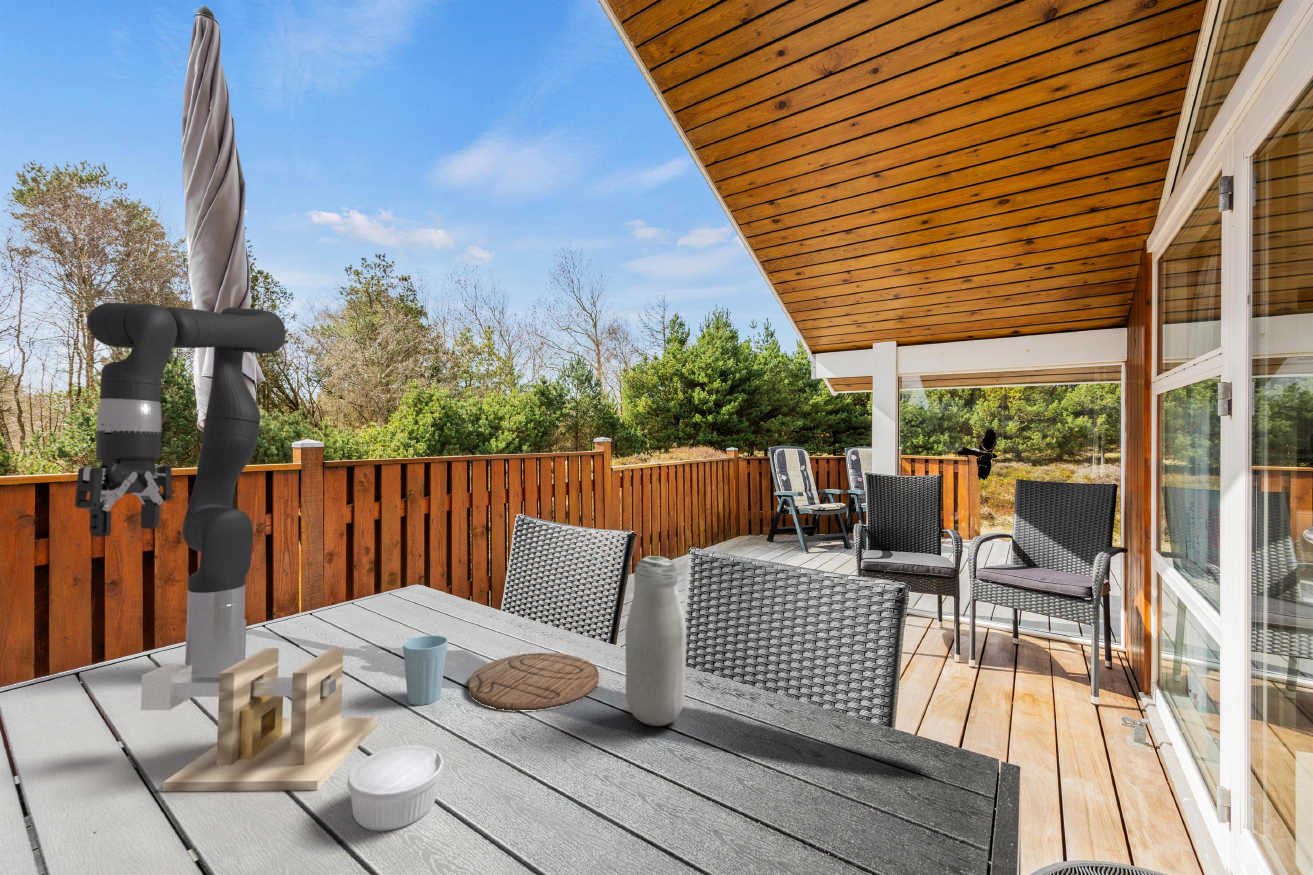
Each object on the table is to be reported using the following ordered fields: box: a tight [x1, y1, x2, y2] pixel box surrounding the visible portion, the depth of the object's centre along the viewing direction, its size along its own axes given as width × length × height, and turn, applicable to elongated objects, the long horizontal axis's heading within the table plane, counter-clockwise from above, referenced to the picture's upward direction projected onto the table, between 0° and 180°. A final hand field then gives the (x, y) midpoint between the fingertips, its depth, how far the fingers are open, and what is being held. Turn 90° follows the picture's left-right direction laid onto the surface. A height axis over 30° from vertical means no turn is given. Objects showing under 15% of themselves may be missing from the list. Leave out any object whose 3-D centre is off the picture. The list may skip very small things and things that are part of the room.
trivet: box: [468, 652, 600, 711], centre depth 112 cm, size 25×25×2 cm
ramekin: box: [347, 744, 444, 832], centre depth 73 cm, size 11×11×5 cm
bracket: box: [162, 647, 379, 792], centre depth 85 cm, size 20×18×14 cm
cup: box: [402, 634, 449, 706], centre depth 104 cm, size 8×8×10 cm
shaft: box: [140, 664, 336, 711], centre depth 85 cm, size 26×4×5 cm, turn 92°
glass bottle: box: [624, 555, 687, 727], centre depth 97 cm, size 10×10×28 cm
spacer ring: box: [240, 696, 284, 759], centre depth 84 cm, size 2×7×7 cm, turn 3°
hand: (126, 532), depth 89 cm, fingers open, 8 cm apart
